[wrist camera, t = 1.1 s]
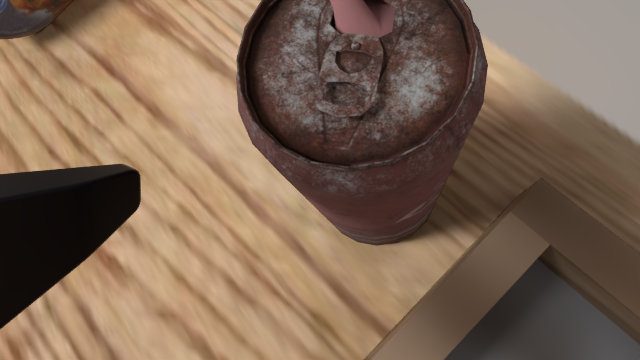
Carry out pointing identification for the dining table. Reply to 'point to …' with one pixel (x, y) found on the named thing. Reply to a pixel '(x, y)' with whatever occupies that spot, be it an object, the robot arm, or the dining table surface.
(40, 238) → the robot arm
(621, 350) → the collar
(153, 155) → the dining table surface
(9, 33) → the tin
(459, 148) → the can
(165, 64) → the dining table surface
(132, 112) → the dining table surface
